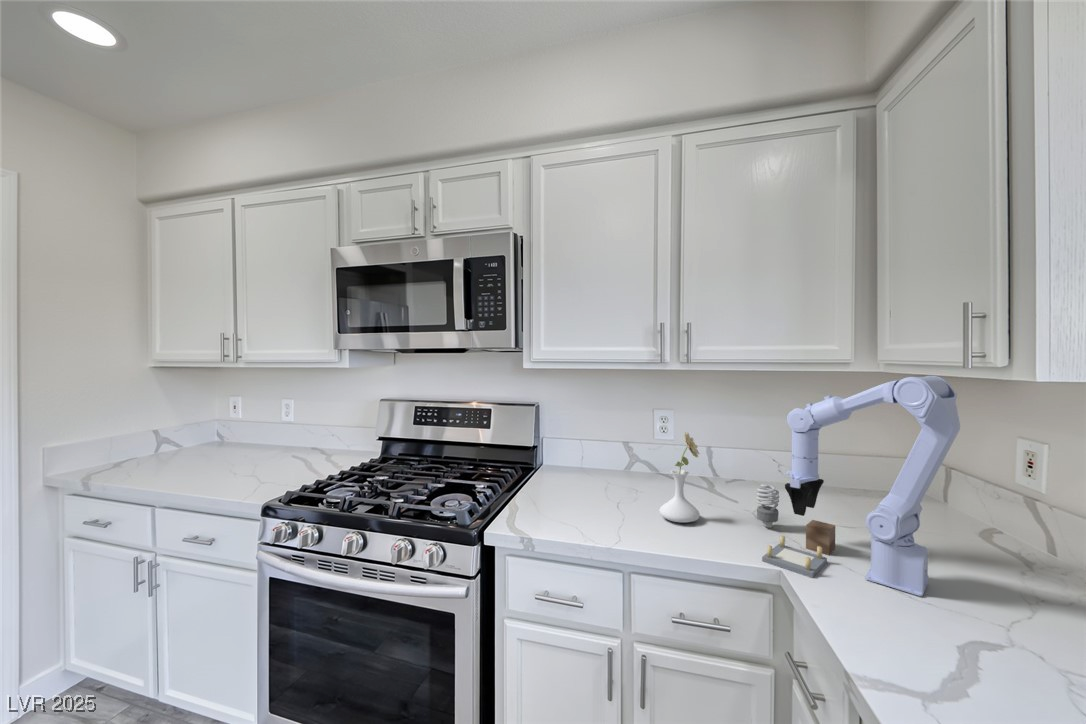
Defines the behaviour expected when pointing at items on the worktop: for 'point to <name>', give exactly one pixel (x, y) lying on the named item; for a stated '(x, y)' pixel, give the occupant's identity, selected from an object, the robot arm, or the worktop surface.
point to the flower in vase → (681, 491)
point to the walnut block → (820, 536)
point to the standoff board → (795, 559)
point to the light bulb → (767, 512)
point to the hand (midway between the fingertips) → (804, 510)
